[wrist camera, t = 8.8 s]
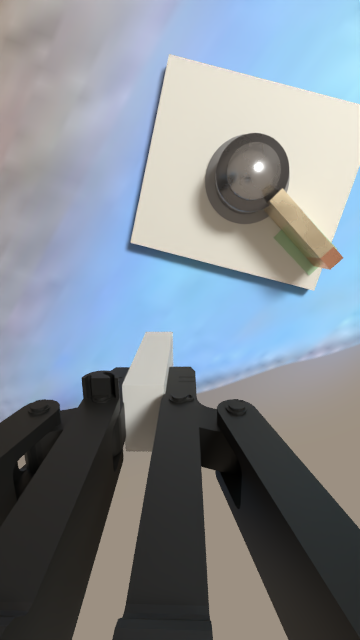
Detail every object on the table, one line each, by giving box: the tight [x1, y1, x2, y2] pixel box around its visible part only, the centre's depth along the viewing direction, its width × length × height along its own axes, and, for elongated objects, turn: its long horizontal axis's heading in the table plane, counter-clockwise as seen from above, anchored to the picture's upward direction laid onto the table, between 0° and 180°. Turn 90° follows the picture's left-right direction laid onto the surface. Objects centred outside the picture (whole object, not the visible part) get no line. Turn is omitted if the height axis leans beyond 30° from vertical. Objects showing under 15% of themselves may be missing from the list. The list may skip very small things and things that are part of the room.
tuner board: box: [130, 54, 360, 290], centre depth 34 cm, size 23×19×1 cm
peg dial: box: [215, 133, 343, 269], centre depth 32 cm, size 16×7×4 cm, turn 45°
